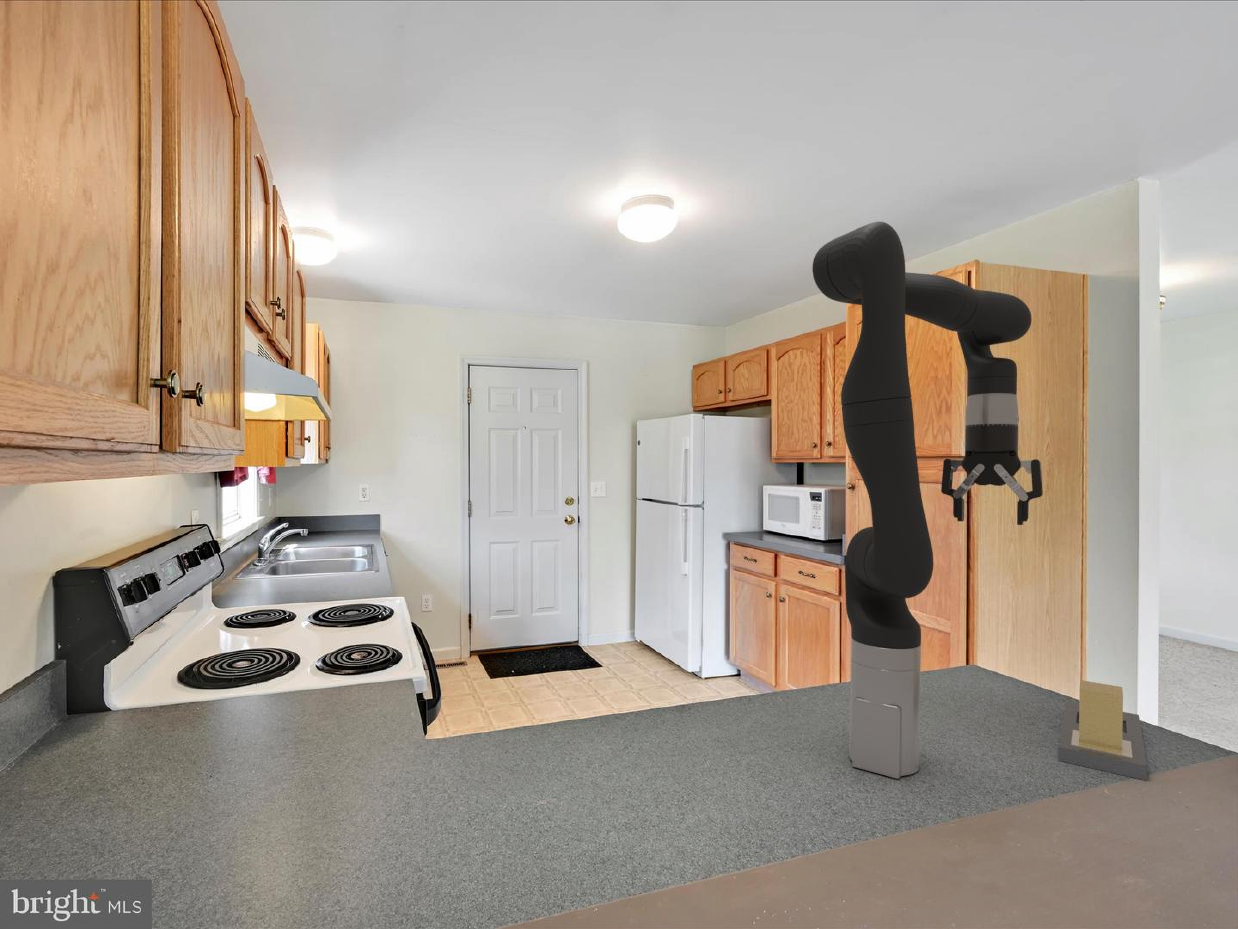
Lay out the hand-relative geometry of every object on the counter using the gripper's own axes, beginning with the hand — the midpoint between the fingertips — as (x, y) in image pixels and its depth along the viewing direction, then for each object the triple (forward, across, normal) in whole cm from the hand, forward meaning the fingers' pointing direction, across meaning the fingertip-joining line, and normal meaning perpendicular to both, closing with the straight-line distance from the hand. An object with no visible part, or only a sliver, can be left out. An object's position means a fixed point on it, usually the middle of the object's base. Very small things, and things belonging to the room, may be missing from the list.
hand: (989, 523), depth 108 cm
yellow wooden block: (+31, +15, -3) cm, 34 cm away
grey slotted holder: (+33, +15, +4) cm, 37 cm away
